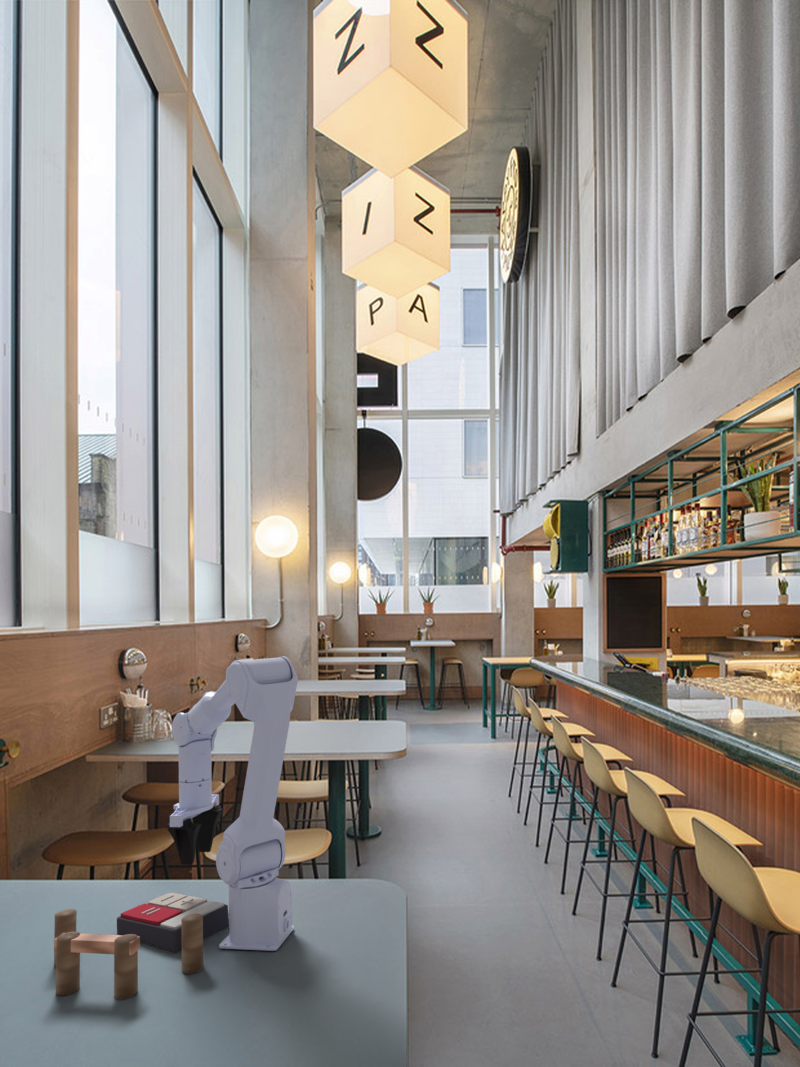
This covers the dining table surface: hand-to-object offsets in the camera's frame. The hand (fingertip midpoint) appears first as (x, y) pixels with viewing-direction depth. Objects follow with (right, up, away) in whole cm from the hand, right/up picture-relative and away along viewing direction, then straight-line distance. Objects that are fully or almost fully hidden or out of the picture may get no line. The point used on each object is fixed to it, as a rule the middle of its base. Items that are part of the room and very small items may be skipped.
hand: (196, 857), depth 124 cm
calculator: (-1, -8, -10) cm, 13 cm away
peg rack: (-5, -5, -25) cm, 26 cm away
